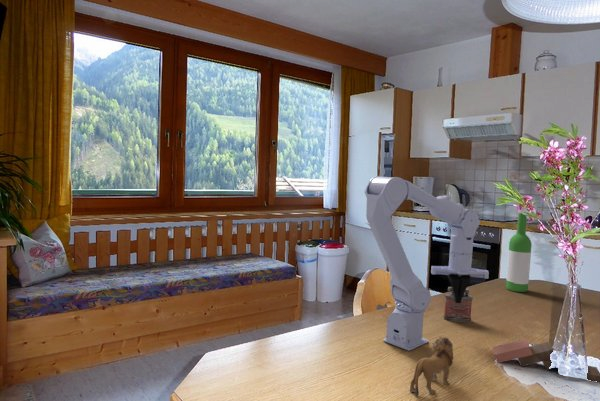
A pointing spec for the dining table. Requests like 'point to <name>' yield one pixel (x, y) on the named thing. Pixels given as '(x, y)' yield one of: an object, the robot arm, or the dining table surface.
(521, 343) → the brick red domino
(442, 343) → the lion figurine
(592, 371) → the walnut domino
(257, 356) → the dining table surface
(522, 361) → the walnut domino
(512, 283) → the wine bottle
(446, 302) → the lighter
